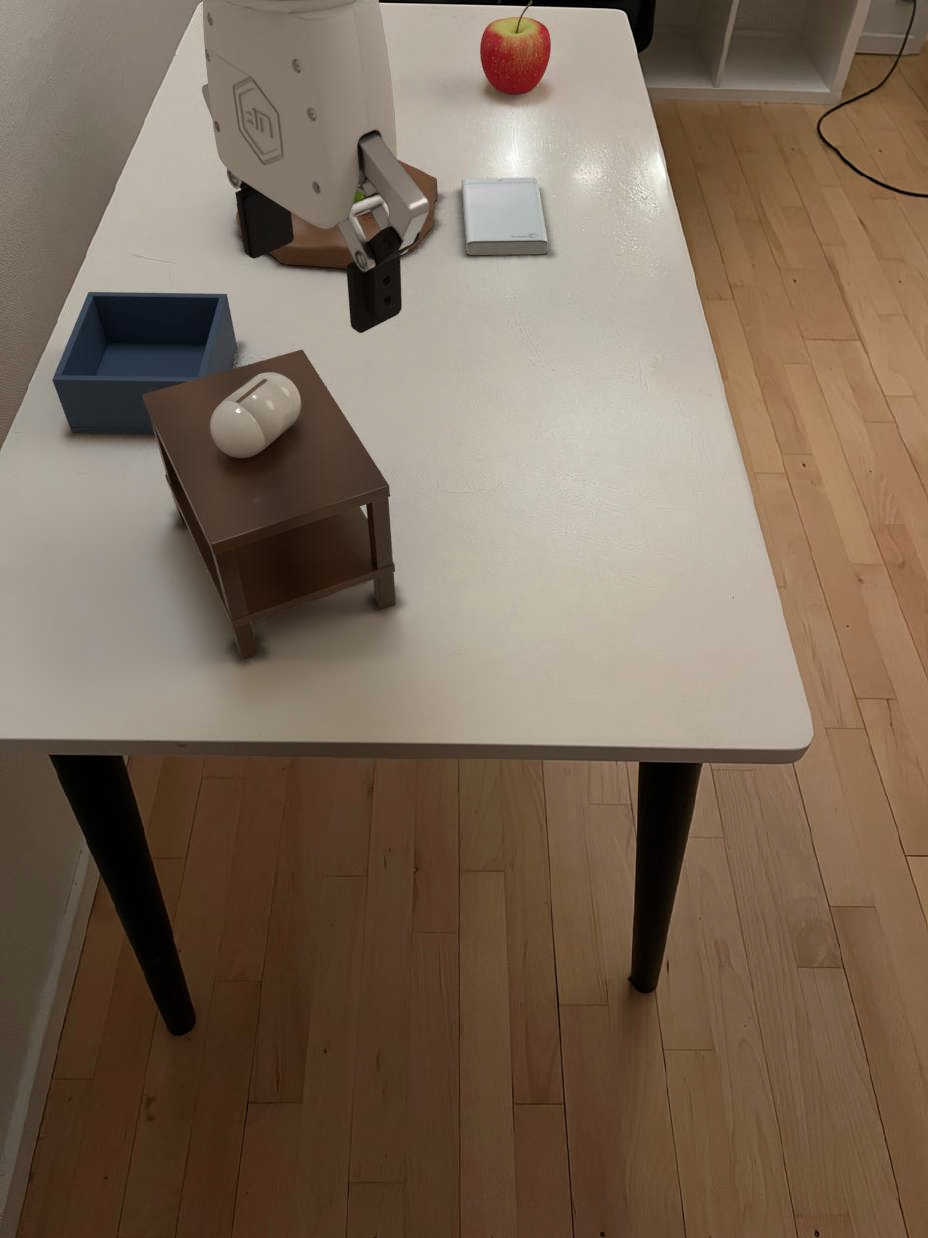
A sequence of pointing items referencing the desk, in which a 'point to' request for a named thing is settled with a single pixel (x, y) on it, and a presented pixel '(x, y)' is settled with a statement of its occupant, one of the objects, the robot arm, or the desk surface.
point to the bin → (139, 355)
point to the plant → (329, 243)
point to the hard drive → (503, 216)
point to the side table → (275, 499)
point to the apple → (515, 53)
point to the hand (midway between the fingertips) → (321, 283)
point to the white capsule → (255, 415)
